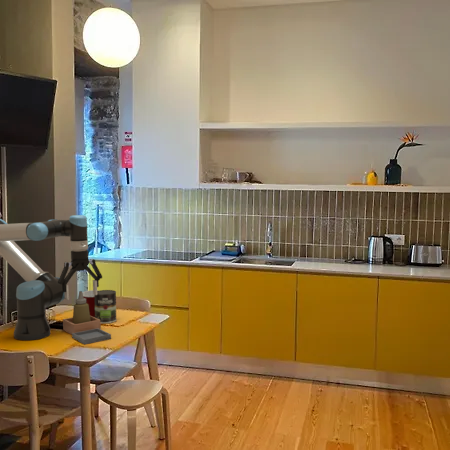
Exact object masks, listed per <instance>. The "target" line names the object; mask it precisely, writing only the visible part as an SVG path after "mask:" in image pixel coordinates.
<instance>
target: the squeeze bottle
mask: <svg viewBox="0 0 450 450" xmlns="http://www.w3.org/2000/svg"><path fill="white" fill-rule="evenodd" d="M82 292H83V291H82V290H80V291H79V293H78V296H77V298H76V299H75V304H73V309H72V310H73V311H72V318H73V324H80V323H85V322H90V321H91V319H90V312H89V305H88V304H87V303H86V299H85V298H84V297H83V293H82Z"/></svg>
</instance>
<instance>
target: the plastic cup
mask: <svg viewBox="0 0 450 450" xmlns="http://www.w3.org/2000/svg"><path fill="white" fill-rule="evenodd" d="M97 291H99V289H97ZM82 293H83V297H84V298H85V299H86V303H87V304H88V305H89V312H90V316H92V317H95V295H94V294H93V289H91V290H85V291H82Z"/></svg>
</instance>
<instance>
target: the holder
mask: <svg viewBox="0 0 450 450" xmlns="http://www.w3.org/2000/svg"><path fill="white" fill-rule="evenodd" d="M90 319H91V321H90V322H85V323H80V324H73V317H69V318H63V319H62V327H63V329H62V330H63V331H64V332H66V333H68V334H70V335H72V333H76V332H82V331H87V330H92V329H97V328H99V329H101V330H102V328H101V325H102V323H101V322H100V320H99V319H97V318H95V317H92V316H90Z"/></svg>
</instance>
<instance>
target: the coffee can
mask: <svg viewBox="0 0 450 450" xmlns="http://www.w3.org/2000/svg"><path fill="white" fill-rule="evenodd" d="M95 318H97V319H99V320H100V322H101V325H102V324H103V325H104V324H112V323H114V322H117V291H116V290H113V289H103V290H98V291H97V295H95Z"/></svg>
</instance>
